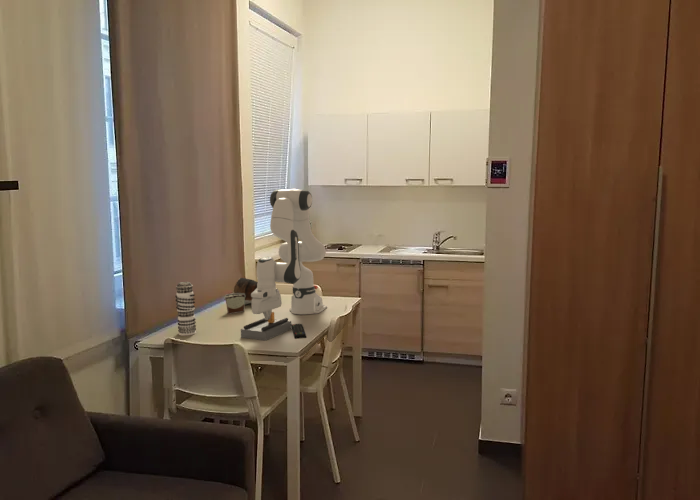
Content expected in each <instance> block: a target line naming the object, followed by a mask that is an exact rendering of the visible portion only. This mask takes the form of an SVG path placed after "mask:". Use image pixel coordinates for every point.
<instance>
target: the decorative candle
mask: <svg viewBox="0 0 700 500" xmlns="http://www.w3.org/2000/svg"><path fill="white" fill-rule="evenodd" d="M193 286H194V285H193V284H192V283H191V282H190V281H181V282H178V284H177V285H176V286H175V289H176V293H175V294H176V295H175V297H174V298H175V302H176V303H175V305H176V308H175V309H176V311H177V315H178V316H177V325H178V326H177V329H178V333H177V334H178V335H179V336H192V335H195V334H196V333H197V331H196V330H197V328H196V327H197V322H196V320H197V319H196V315H195V309H196V308H195V305H194V304H195V303H196V302H195V300H196V298H194V296H195V295H196V294H194V291H193Z"/></svg>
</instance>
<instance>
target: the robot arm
mask: <svg viewBox="0 0 700 500" xmlns="http://www.w3.org/2000/svg"><path fill="white" fill-rule="evenodd" d="M270 193H271V194H270V195H269V203H270V206H271V208H272V211H271V216H270V223H269V226H270V231H271V233H272V234H273V235H274V236H275V237H276V238H279V239H280V240H282V241H284V242H283V243H281V244H280V245H279V248H278V255H279V258H280V259H281V260H282V261H283V262H279V261H275V259H274V258H273V257H270V256H264V257H261V258H259V259H258V260H257V263H256V278H257V282H258V283H257V288H256V290H255V291H253V292H252V293H251V297H252V302H251V303H250V305H251V313H252V314H254V315H260V314H262V315H263V316H264V318H265V320H269V319H271V318H270V316H271V313H272V312H273V310H276V309H278V308H280V307H282V304H283V303H282V296H281V292H280V290H279V289H278V288H277V287H276V285H277V284H276V283H286V284H290V285H293V286H292V296H291V302H290V303H291V304H290V305H291V306H290V308H289V312H291V313H292V314H294V315H312V314H320V313H322V312H323V311H324V310H325V309H327V308H328V305H325V304H323V297H322V296H320V295H319V294H318V293H317V291H316V290H317V289H318V288H319V287H318V285H315V284H314V273H313V271H312V270H311V269H310V268H308V267H306V266H305V265H304V264H303V263H304V262H317V261H322V260H323V259H324V258H325V256H326V251H327V250H326V247H325V246H326V245H324V243H323V242H321V241H320V240H319V239H317V238H316V236H315V235H314V233H313V231H312V228H311V221H310V213H309V212H310V211H309V209H310V208H311V207H312V204H313V196H312V193H311V192H310V190H308V189H307V190H306V189H296V188H290V189H289V188H287V189H275V190H273V191H272V192H270ZM299 240H300V241H299Z"/></svg>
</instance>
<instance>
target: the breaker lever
mask: <svg viewBox="0 0 700 500" xmlns="http://www.w3.org/2000/svg"><path fill="white" fill-rule="evenodd" d="M270 318H271V319H269V320H268V323H274V322H275V312H274V311H272V313H271V316H270Z"/></svg>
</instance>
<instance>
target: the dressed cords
mask: <svg viewBox="0 0 700 500" xmlns="http://www.w3.org/2000/svg"><path fill="white" fill-rule="evenodd" d="M279 320H280V321H278V322H275V323H273V324H270V325H268V326H265V327H263V328H262V329H261V330H262V331H265V330H267V329H270V328H272V327H274V326H277V325H279V324H281V323H284V322H286V321H289V318H288V317H284V318H283V319H279ZM265 321H267V320H265V317H264V318H262V319H259V320H256V321H254V322H250V323H249V324H246V325H244V326H243V328H244V329H247V328H250V327H252V326H255V325H257V324H260V323H262V322H265Z"/></svg>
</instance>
